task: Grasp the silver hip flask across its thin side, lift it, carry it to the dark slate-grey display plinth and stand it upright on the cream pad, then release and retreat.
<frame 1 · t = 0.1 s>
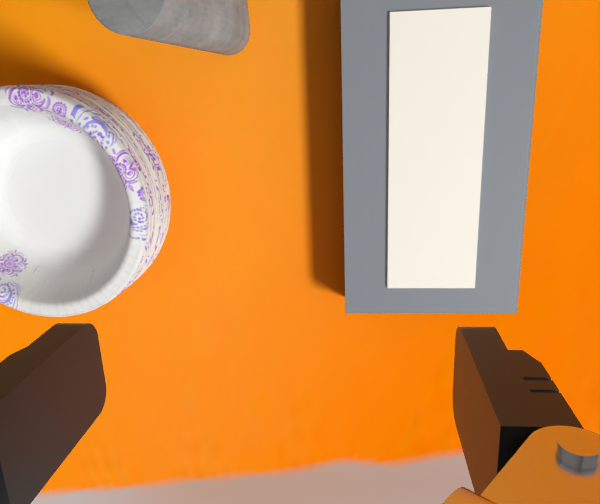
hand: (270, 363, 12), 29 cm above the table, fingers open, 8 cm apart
display plinth: (429, 152, 39), on the table
paper bowls: (90, 187, 42), on the table
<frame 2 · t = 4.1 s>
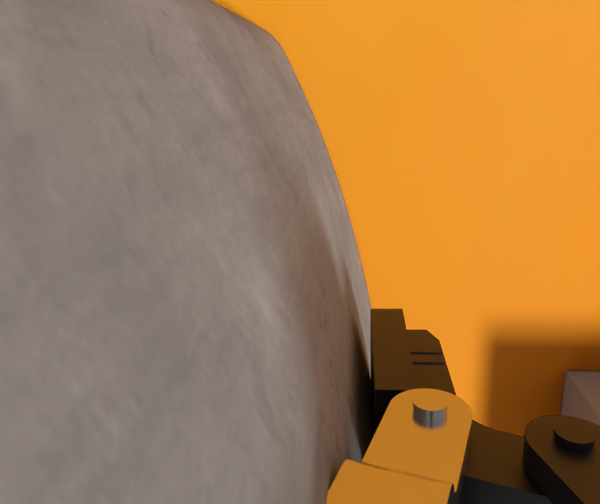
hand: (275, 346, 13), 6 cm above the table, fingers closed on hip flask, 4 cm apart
hip flask: (306, 259, 19), on the table, touching gripper
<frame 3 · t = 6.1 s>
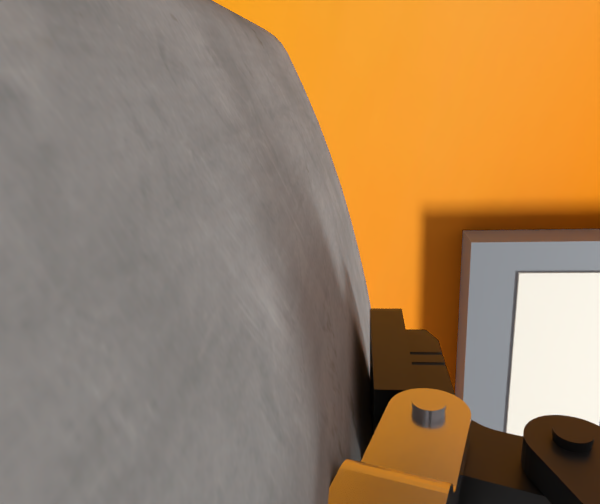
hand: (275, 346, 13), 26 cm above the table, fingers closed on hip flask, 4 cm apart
hip flask: (307, 260, 19), point 19 cm above the table, touching gripper
display plinth: (540, 375, 40), on the table
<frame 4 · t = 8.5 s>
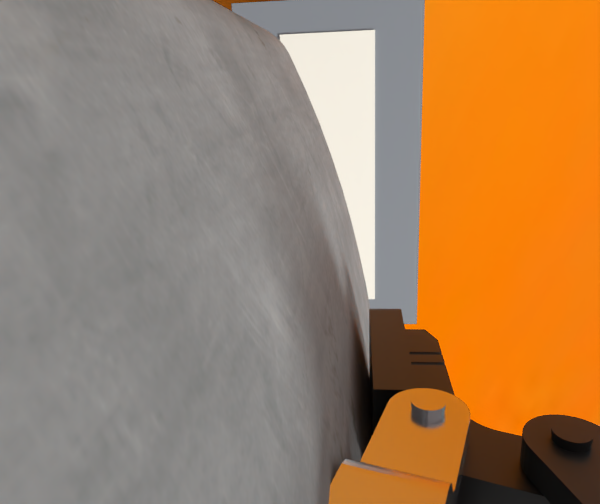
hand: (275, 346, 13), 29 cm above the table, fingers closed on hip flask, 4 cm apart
hip flask: (307, 262, 19), point 22 cm above the table, touching gripper
display plinth: (332, 168, 40), on the table
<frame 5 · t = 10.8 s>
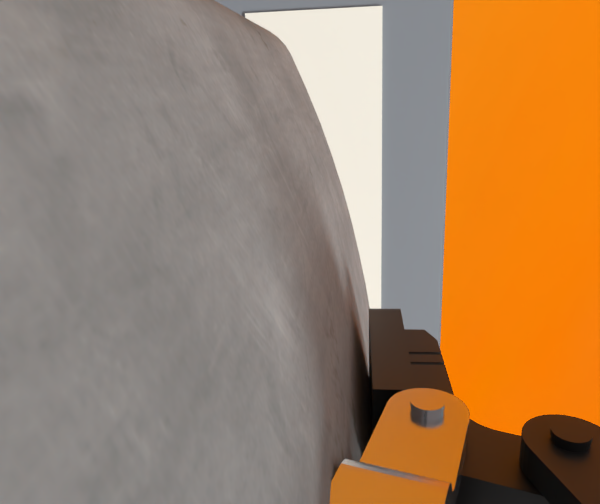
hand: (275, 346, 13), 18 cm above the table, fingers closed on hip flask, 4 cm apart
hip flask: (307, 262, 19), point 11 cm above the table, touching gripper
display plinth: (322, 198, 30), on the table
when the fingers open (11 cm above the table, at t = 13.0 s): hip flask drops 1 cm, resting on display plinth.
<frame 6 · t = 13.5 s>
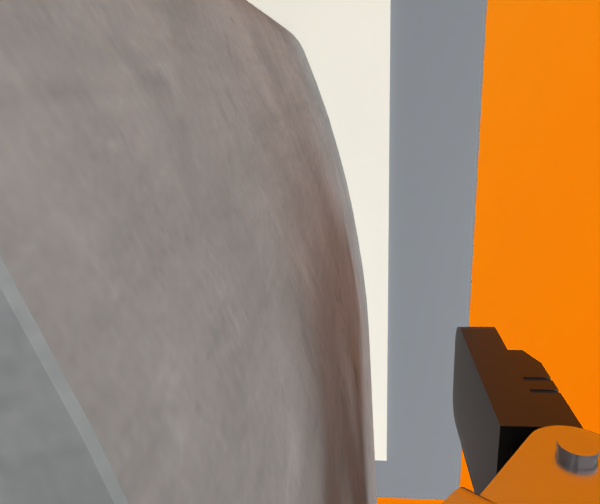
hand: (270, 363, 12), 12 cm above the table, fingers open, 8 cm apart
hip flask: (309, 248, 20), point 3 cm above the table, touching display plinth
display plinth: (312, 228, 23), on the table
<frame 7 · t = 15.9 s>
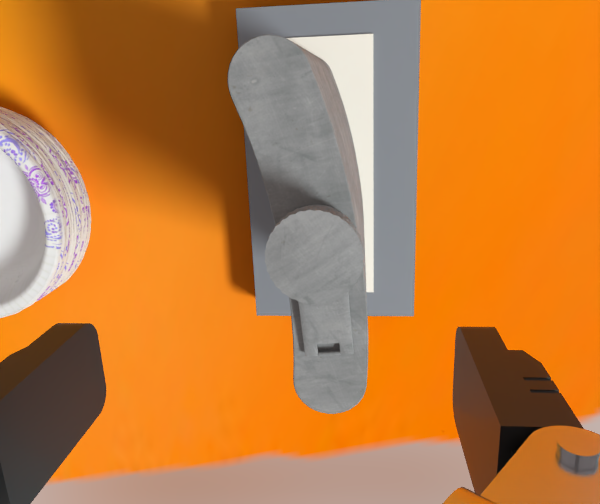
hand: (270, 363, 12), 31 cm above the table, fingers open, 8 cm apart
hip flask: (332, 172, 39), point 3 cm above the table, touching display plinth
display plinth: (332, 166, 42), on the table
paper bowls: (22, 197, 45), on the table
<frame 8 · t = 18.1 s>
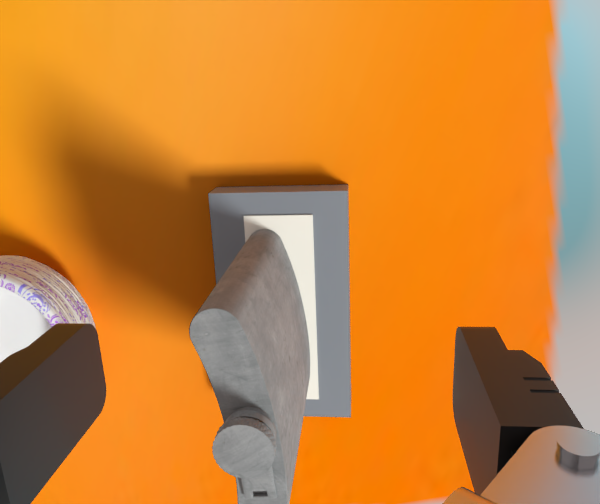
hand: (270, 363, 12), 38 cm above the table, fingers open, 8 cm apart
hip flask: (284, 310, 50), point 3 cm above the table, touching display plinth
display plinth: (287, 298, 53), on the table
paper bowls: (41, 315, 57), on the table
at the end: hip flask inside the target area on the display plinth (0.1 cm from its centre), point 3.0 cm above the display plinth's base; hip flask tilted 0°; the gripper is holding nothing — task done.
